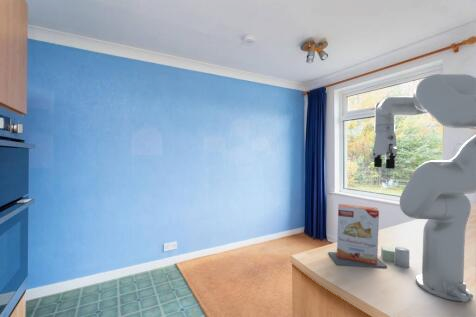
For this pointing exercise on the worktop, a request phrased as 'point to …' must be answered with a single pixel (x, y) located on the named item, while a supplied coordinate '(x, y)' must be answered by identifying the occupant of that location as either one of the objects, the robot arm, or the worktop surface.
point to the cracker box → (358, 233)
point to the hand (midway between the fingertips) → (383, 167)
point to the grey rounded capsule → (402, 257)
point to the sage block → (388, 253)
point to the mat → (354, 262)
